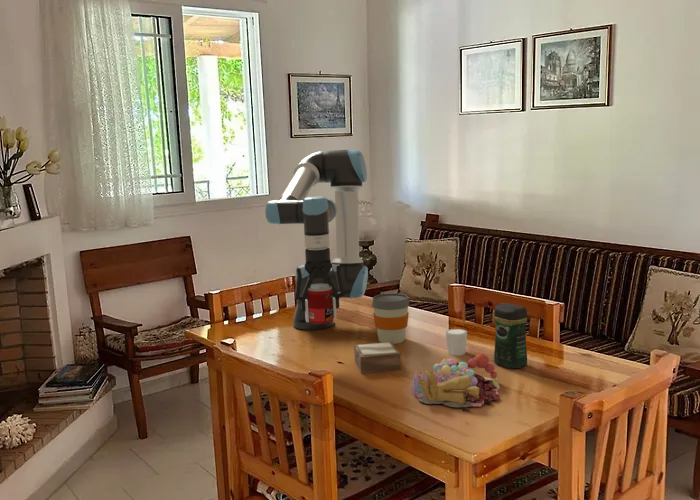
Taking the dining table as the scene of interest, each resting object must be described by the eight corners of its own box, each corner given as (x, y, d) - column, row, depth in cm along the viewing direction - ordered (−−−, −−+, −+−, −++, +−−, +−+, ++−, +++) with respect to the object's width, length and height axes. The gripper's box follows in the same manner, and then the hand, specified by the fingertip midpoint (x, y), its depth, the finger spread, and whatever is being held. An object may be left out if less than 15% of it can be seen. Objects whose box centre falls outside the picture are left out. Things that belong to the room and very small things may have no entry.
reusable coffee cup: (391, 347, 226) (390, 303, 224) (365, 340, 236) (364, 297, 233) (417, 339, 234) (416, 296, 232) (391, 332, 244) (390, 291, 241)
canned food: (330, 324, 208) (329, 289, 206) (305, 324, 210) (303, 289, 208) (336, 317, 216) (334, 283, 213) (311, 316, 217) (309, 283, 215)
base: (354, 360, 215) (353, 344, 214) (391, 357, 217) (391, 341, 216) (361, 373, 203) (360, 356, 202) (400, 369, 205) (400, 352, 204)
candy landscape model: (502, 412, 173) (502, 377, 171) (409, 409, 177) (408, 375, 175) (498, 377, 197) (497, 346, 195) (415, 375, 201) (415, 345, 199)
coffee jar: (531, 365, 205) (532, 305, 201) (513, 371, 200) (513, 309, 197) (507, 357, 212) (507, 299, 209) (489, 363, 208) (489, 303, 205)
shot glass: (469, 350, 221) (469, 329, 220) (464, 357, 215) (464, 335, 213) (449, 348, 224) (449, 327, 222) (443, 354, 217) (442, 333, 216)
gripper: (284, 252, 203) (288, 326, 207) (353, 247, 206) (355, 320, 211) (282, 247, 210) (286, 319, 215) (349, 243, 214) (351, 313, 218)
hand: (321, 319), depth 213 cm, fingers closed on canned food, 8 cm apart
